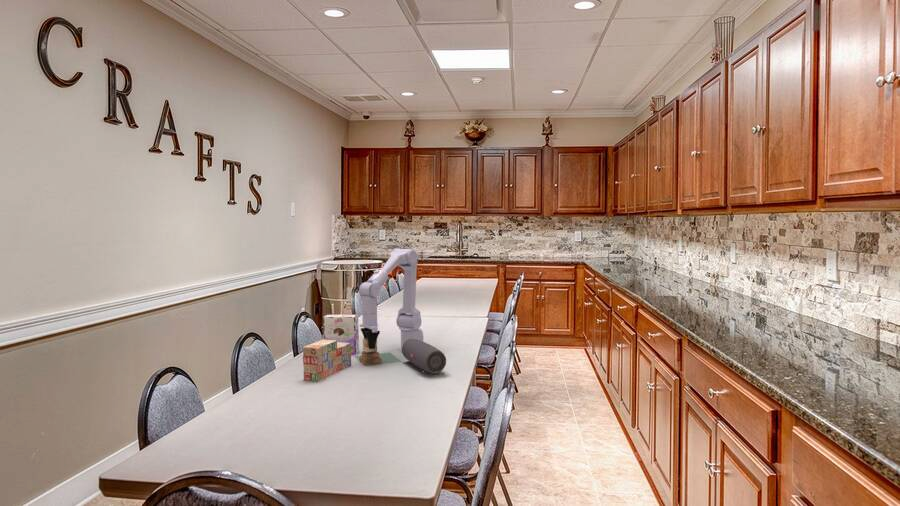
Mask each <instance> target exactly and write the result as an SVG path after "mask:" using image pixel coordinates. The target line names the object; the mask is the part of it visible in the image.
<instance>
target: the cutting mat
mask: <svg viewBox="0 0 900 506" xmlns="http://www.w3.org/2000/svg"><path fill="white" fill-rule="evenodd" d="M378 353H379V352H378ZM360 356H362V354H361V355H354V358H356V359H357V361H359V362H360ZM379 357H381V358H382V363H381V364H380V365H385V364H393V363H398V362H399V363H401V362H402V360H400V359H399V358H398V357H396V356H395V355H394V354H392V353H391V352H382V353H379ZM376 365H378V364H373V365H372V366H376ZM363 366H364V367H366V366H367V367H368V366H369V365H363Z"/></svg>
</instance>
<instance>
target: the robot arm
mask: <svg viewBox="0 0 900 506" xmlns="http://www.w3.org/2000/svg"><path fill="white" fill-rule="evenodd" d="M397 266H399V267H400V268H401V269H402V270H403V291H402V307H401V308H400V309H398V311H397V316H396V319H395V320H396V321H395V322H396V326H397V327H398V330H400V347H399V346H398V347H397V349H398V350H400V351H401V352H402V346H403V344H404V343H405V341H407V340H408V339H417V340H420V341H423V342H425V340H424V331H423V329H422V328H421V326H422V318H421V311H420V310H419V309H418V308H417V307H416V295H417V293H416V292H417V272H418V271H417V268H418V253H417V251H416V250H415V249H414V248H397V247H395V248H394V249H392V251H390V253H389V258H388V259H387V261H386V262H385V263H384V265H383V266H382V268H381V269H376V270H375V271H374V272H373V274H372V275H371V276H370V278H368V280H367V281H365V282H362V283H361V284H360V285H359V289H358V294H359V297H360V300H361V304H362V305H361V306H362V307H361V310H362V311H361V312H362V315H361V319H362V323H361V324H359V327H360V332H361V333H362V335H363V339H364V338H367V339H368V345H369V349H375V346H376V341H377V342H378V338H379V335H380V334H381V333H380V332H381V331H380V330H378V329H379V328H378V326H379V324H378V301H377V300H378V297H379V296H380V293H381V290H382V287H383V286H384V285H385V284H386V282H387V281H388V280H389V276H388V275H389V274H390V273H392V271H394V270H395V268H397Z"/></svg>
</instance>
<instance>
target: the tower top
mask: <svg viewBox="0 0 900 506" xmlns="http://www.w3.org/2000/svg"><path fill="white" fill-rule="evenodd" d="M361 355H362V357H363V358H364V359H365V360H367V359H376V358H379V351H378V350H377V351H374V352H365V351H364V350H363V351H361Z"/></svg>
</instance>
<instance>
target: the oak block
mask: <svg viewBox="0 0 900 506" xmlns="http://www.w3.org/2000/svg"><path fill="white" fill-rule="evenodd" d="M362 350H363V351H365V352H374V351H377V352H378V340H377V341H376V346H375V349H369V345H368V339H367V338H364V337H363V338H362Z"/></svg>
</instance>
